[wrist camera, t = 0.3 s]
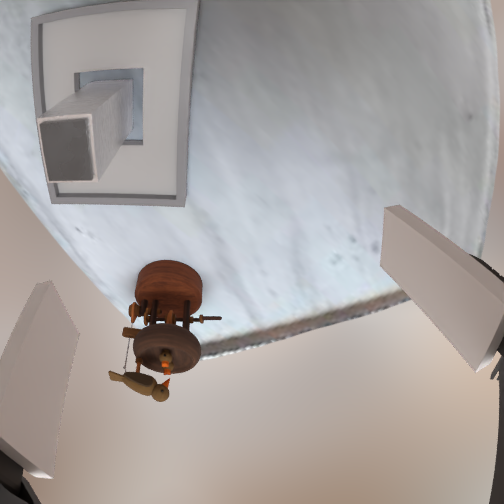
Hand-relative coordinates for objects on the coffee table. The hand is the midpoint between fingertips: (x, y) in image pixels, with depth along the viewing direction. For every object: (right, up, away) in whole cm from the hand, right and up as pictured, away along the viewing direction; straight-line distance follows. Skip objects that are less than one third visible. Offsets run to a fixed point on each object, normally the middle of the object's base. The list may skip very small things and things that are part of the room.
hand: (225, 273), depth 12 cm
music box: (-11, -4, +39) cm, 41 cm away
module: (-15, +17, +19) cm, 30 cm away
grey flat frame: (-15, +17, +19) cm, 30 cm away
